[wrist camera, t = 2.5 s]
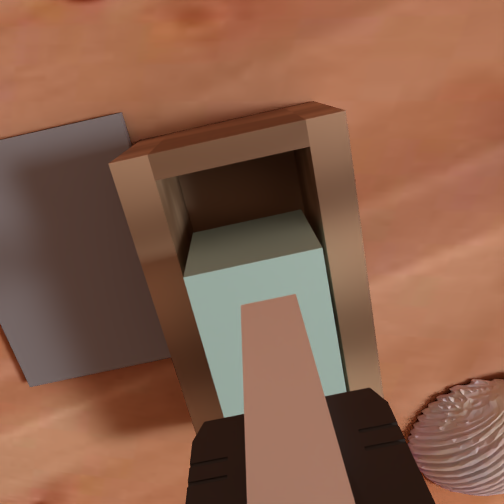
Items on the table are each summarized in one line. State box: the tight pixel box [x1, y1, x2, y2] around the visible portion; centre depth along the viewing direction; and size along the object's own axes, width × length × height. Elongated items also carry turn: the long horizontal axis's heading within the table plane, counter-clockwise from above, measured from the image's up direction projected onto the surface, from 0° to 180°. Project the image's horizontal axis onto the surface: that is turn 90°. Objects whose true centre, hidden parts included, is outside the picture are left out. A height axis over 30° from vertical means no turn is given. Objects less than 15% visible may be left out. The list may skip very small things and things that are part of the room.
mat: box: [0, 112, 171, 387], centre depth 25 cm, size 10×14×1 cm
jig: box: [108, 101, 384, 435], centre depth 24 cm, size 18×9×7 cm, turn 12°
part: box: [183, 209, 346, 418], centre depth 21 cm, size 12×5×5 cm, turn 12°
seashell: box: [408, 379, 504, 496], centre depth 30 cm, size 10×6×10 cm
